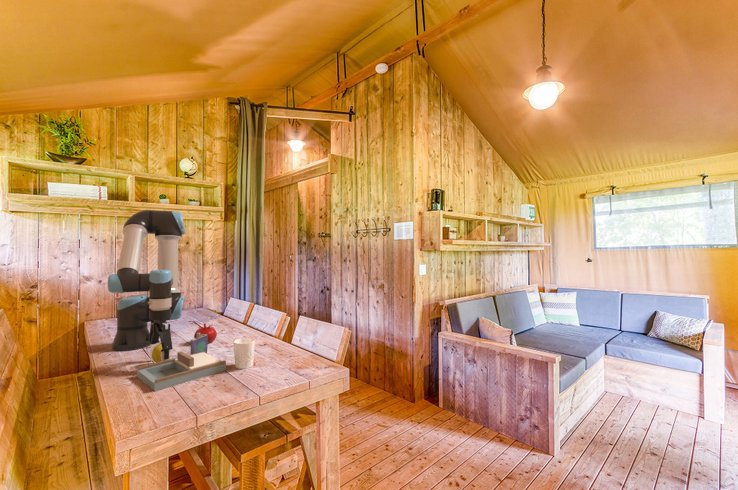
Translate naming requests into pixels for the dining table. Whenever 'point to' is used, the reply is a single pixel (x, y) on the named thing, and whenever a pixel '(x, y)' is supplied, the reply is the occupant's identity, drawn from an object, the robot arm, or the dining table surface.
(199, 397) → the dining table surface
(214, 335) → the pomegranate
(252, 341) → the white cup
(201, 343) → the blue-grey curved piece
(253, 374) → the dining table surface
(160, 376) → the sliding lid box
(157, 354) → the lemon
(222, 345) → the dining table surface
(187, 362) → the slide cover
